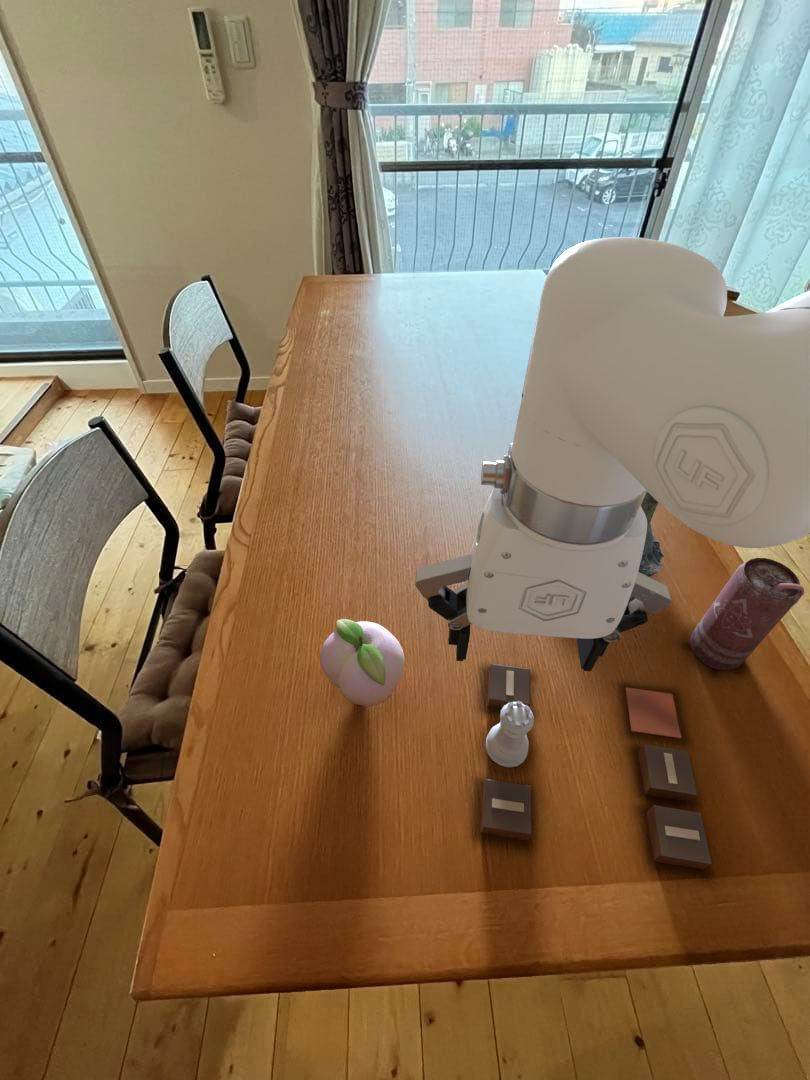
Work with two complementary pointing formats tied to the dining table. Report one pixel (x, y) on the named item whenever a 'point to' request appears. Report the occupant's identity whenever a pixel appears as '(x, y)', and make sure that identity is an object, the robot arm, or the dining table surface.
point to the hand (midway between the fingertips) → (521, 650)
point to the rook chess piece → (510, 735)
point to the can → (745, 612)
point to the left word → (501, 800)
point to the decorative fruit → (362, 661)
